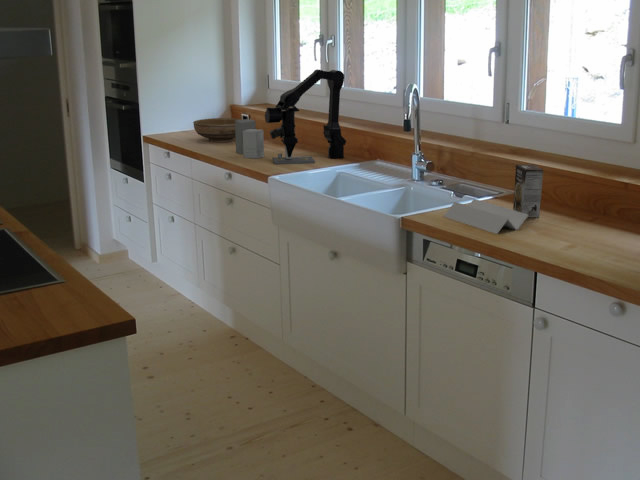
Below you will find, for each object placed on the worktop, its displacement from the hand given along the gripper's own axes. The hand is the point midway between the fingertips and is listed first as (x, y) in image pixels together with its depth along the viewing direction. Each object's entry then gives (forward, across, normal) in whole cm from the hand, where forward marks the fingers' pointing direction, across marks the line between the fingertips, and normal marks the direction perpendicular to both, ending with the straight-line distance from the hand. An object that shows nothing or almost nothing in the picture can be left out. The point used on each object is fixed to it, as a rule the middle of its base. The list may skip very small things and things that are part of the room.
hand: (288, 156), depth 355 cm
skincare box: (+3, -26, -18) cm, 32 cm away
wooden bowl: (+3, -67, -29) cm, 73 cm away
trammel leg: (+1, 0, 0) cm, 1 cm away
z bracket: (+3, +116, +51) cm, 127 cm away
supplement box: (+3, -14, -15) cm, 21 cm away
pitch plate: (+2, 0, +2) cm, 3 cm away
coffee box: (+3, +109, +68) cm, 129 cm away
